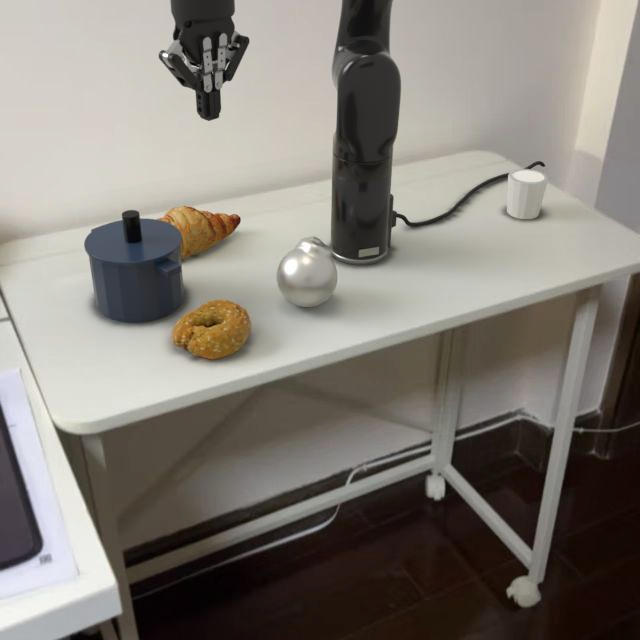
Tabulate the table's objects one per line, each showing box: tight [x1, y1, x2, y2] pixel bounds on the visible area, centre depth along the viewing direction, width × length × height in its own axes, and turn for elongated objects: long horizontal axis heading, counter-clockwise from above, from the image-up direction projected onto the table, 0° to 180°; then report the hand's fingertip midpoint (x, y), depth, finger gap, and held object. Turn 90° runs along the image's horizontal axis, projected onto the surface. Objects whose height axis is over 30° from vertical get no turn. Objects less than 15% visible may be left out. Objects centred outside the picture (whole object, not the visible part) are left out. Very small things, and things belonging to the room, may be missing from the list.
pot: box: [88, 224, 185, 324], centre depth 126 cm, size 13×18×10 cm
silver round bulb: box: [276, 235, 338, 308], centre depth 126 cm, size 9×10×10 cm
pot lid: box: [83, 209, 182, 266], centre depth 122 cm, size 14×14×5 cm
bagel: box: [170, 299, 252, 360], centre depth 118 cm, size 10×11×5 cm
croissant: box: [155, 205, 242, 260], centre depth 141 cm, size 21×10×8 cm, turn 123°
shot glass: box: [506, 168, 549, 220], centre depth 153 cm, size 7×7×7 cm
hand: (209, 118), depth 110 cm, fingers closed
